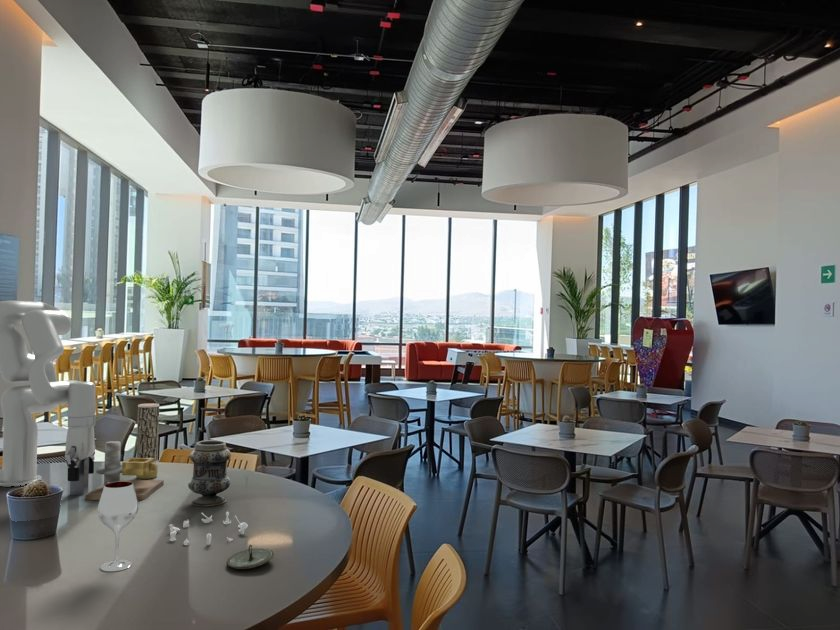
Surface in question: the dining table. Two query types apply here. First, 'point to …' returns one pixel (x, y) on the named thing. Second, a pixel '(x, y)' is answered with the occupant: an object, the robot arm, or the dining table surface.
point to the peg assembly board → (125, 472)
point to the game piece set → (186, 542)
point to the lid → (250, 558)
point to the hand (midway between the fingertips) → (81, 477)
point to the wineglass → (117, 516)
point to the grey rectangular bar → (81, 479)
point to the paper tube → (148, 434)
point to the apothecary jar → (209, 472)
